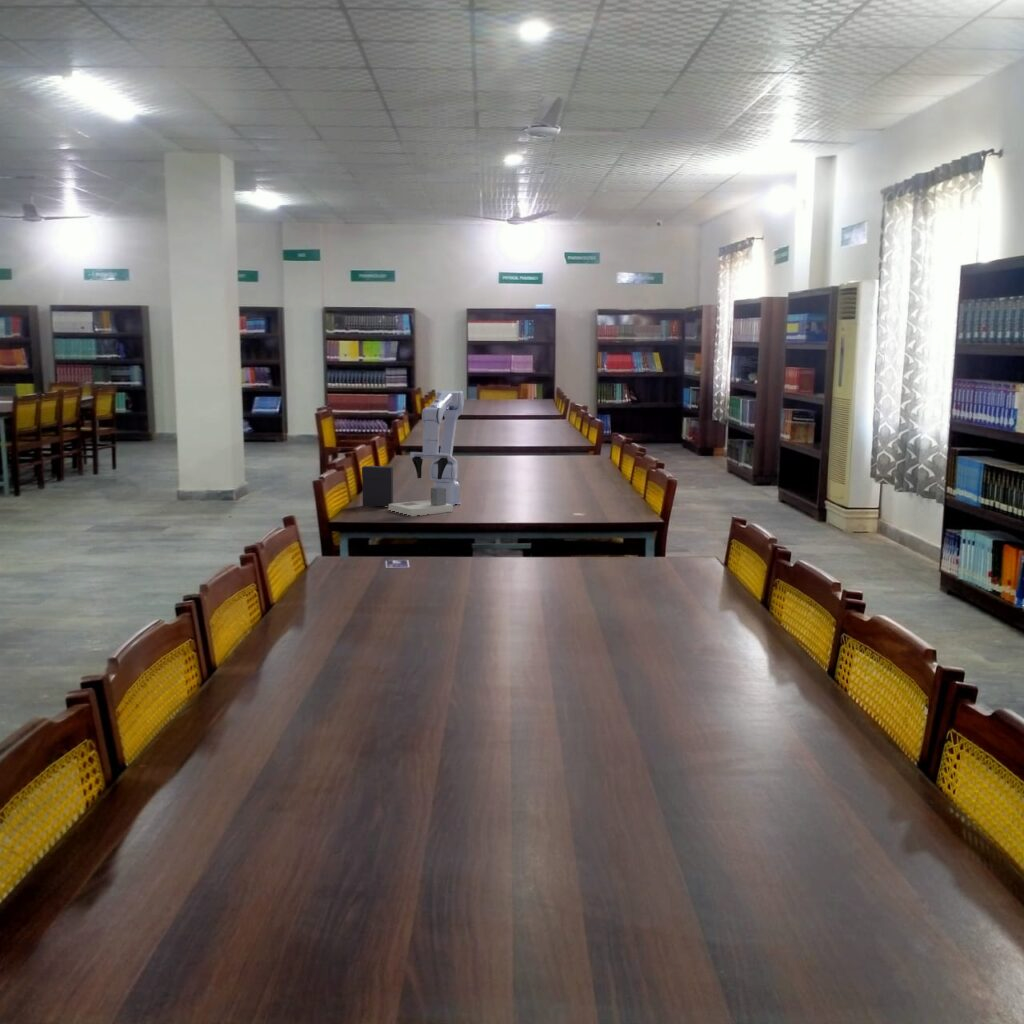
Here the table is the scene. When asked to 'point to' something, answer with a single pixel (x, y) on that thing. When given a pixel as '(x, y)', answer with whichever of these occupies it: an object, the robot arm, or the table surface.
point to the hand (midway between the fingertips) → (429, 478)
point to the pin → (438, 496)
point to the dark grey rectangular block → (377, 485)
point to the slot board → (420, 508)
